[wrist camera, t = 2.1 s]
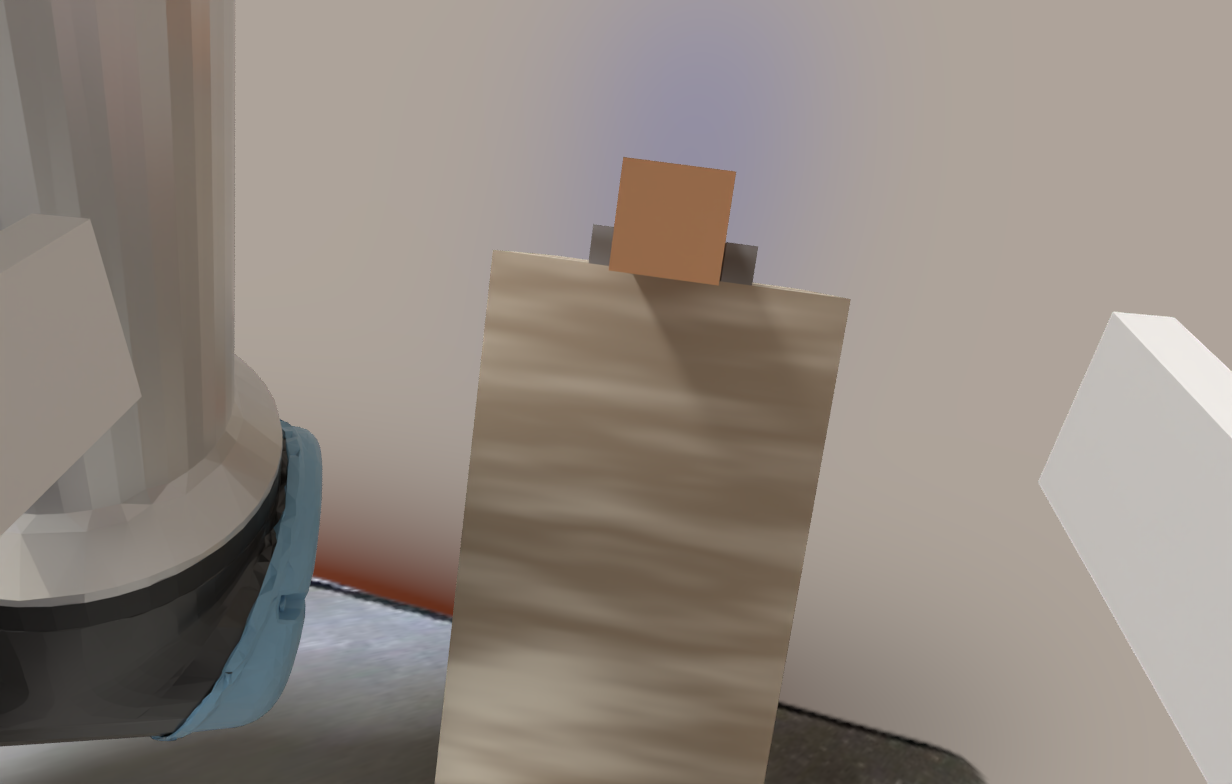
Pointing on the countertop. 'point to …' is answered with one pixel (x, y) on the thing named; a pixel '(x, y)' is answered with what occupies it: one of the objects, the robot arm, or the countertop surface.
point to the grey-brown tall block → (634, 521)
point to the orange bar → (671, 221)
